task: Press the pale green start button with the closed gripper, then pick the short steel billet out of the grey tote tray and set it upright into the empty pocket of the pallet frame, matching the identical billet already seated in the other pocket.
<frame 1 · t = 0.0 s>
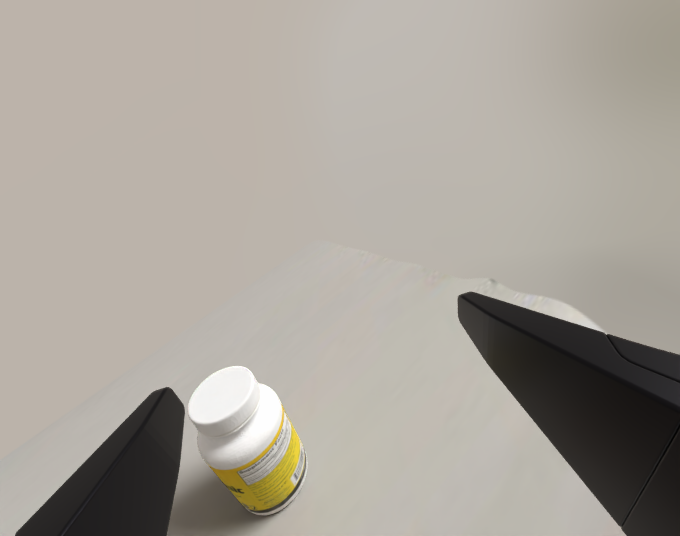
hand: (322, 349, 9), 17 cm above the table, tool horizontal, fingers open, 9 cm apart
supplement bottle: (275, 475, 22), on the table
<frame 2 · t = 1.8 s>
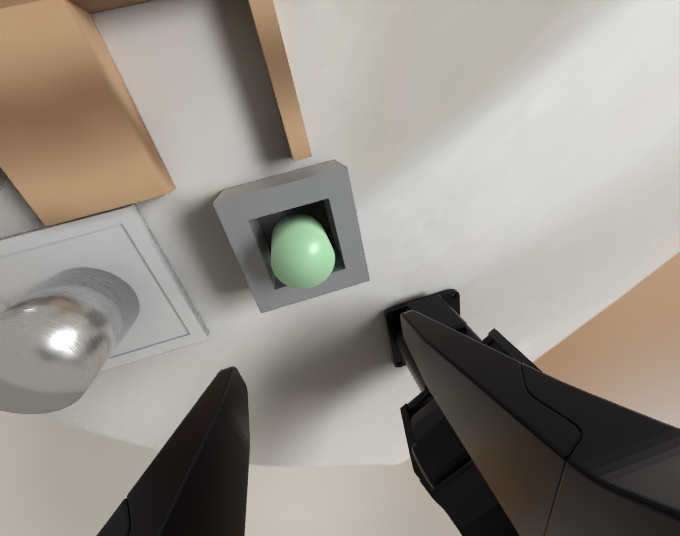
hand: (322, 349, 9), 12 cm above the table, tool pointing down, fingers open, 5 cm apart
loose steel billet: (94, 302, 18), point 1 cm above the table, touching tote tray
button housing: (296, 227, 19), on the table
tote tray: (99, 297, 19), on the table
start button: (301, 249, 16), point 4 cm above the table, slide at 0.0 cm
pallet frame: (69, 109, 14), on the table
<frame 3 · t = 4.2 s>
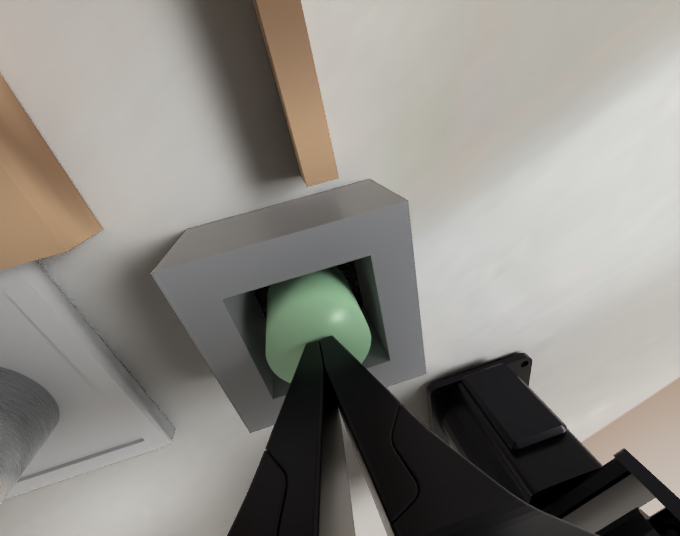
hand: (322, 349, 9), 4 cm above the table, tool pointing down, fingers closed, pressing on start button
button housing: (306, 281, 12), on the table
start button: (314, 318, 10), point 3 cm above the table, slide at 1.3 cm, touching gripper
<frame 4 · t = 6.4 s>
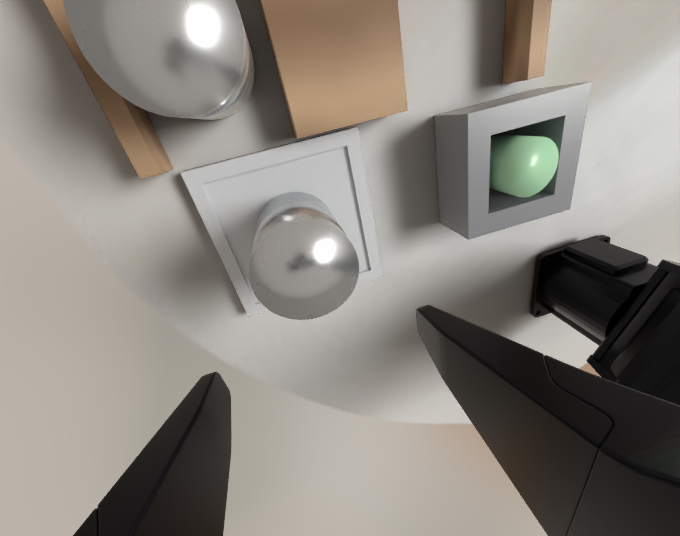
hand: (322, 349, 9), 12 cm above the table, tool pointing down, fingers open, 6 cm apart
loose steel billet: (296, 231, 18), point 1 cm above the table, touching tote tray
button housing: (485, 160, 20), on the table
tote tray: (296, 228, 19), on the table
seated steel billet: (202, 62, 14), on the table
start button: (512, 165, 17), point 3 cm above the table, slide at 1.5 cm
pallet frame: (325, 21, 15), on the table
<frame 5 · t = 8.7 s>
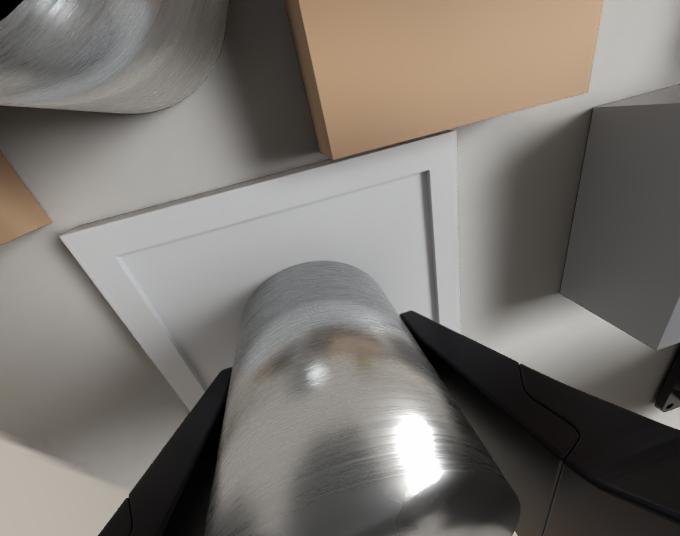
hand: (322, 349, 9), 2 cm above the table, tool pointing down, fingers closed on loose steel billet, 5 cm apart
loose steel billet: (318, 328, 10), point 1 cm above the table, touching gripper, tote tray
button housing: (657, 189, 11), on the table
tote tray: (315, 318, 10), on the table
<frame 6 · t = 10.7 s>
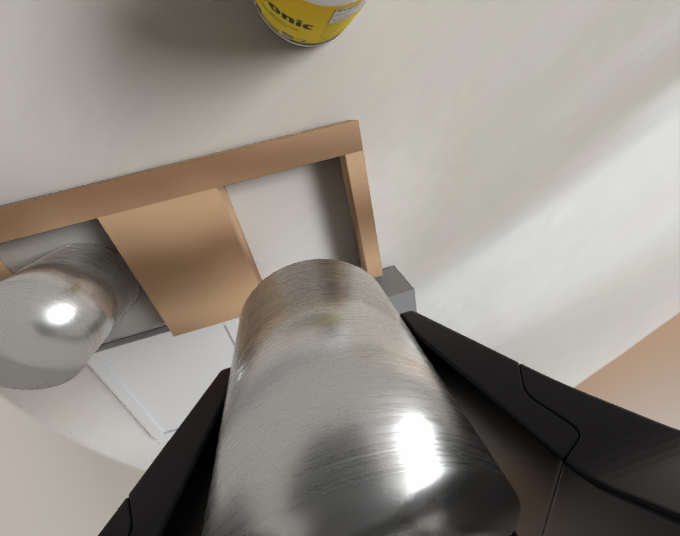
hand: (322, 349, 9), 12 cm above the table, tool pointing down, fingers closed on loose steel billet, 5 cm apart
loose steel billet: (317, 327, 10), point 11 cm above the table, touching gripper
button housing: (358, 315, 23), on the table
tote tray: (194, 375, 22), on the table
seated steel billet: (93, 281, 18), on the table
pallet frame: (195, 245, 18), on the table
when the fingers open (3 cm above the table, at t = 12.7 s): loose steel billet drops 2 cm, on the table.
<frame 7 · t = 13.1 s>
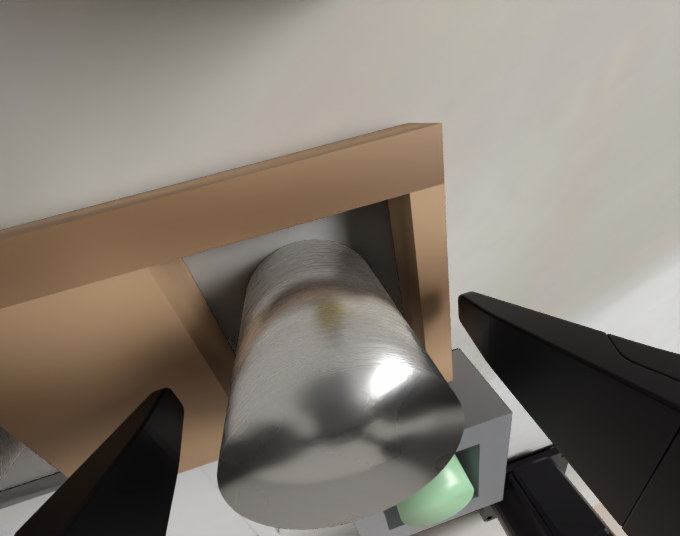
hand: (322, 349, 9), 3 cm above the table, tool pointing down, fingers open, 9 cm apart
loose steel billet: (313, 300, 11), on the table
button housing: (399, 416, 15), on the table
tote tray: (152, 514, 15), on the table
start button: (421, 466, 13), point 3 cm above the table, slide at 1.5 cm
pallet frame: (132, 344, 10), on the table
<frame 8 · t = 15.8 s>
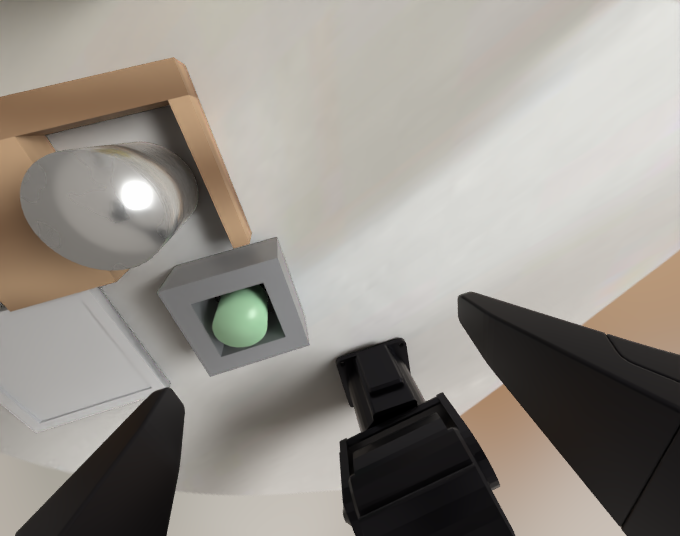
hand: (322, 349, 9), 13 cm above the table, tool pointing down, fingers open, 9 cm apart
loose steel billet: (152, 187, 17), on the table
button housing: (245, 293, 21), on the table
tote tray: (66, 359, 21), on the table
start button: (242, 312, 19), point 3 cm above the table, slide at 1.5 cm
pallet frame: (30, 210, 16), on the table
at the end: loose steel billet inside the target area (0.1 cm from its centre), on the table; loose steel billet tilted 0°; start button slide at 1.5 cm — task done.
